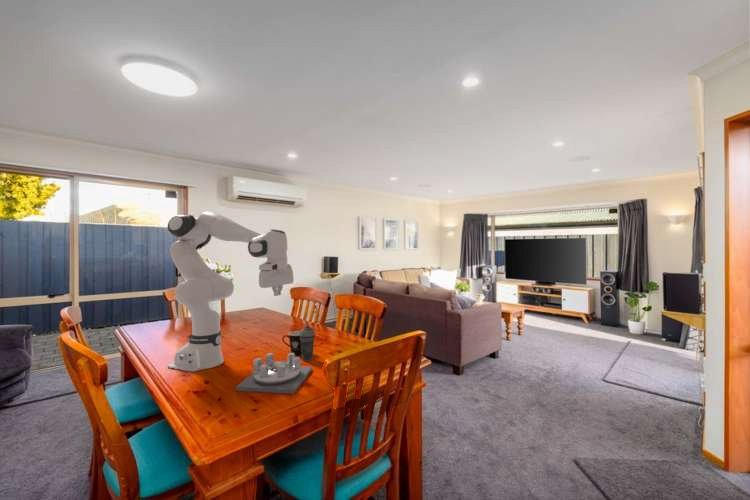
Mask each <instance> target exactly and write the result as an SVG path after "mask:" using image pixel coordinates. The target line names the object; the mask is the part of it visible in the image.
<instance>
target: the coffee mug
mask: <svg viewBox="0 0 750 500" xmlns="http://www.w3.org/2000/svg"><path fill="white" fill-rule="evenodd" d="M300 332H301V330H297V331H296V330H295V331H291V332H289V333H288V335H287V334H286V335H283V336H282V339H281V340H282V342H283V344H284V345H286V346H287V347H289V348H290V353H294V354H295V356H302V350H301V341H300V337H299V335H300ZM285 337H287V338H288V339H289V344H288V343H287V342H286V341H285V339H284V338H285Z"/></svg>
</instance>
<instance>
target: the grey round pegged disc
mask: <svg viewBox="0 0 750 500" xmlns="http://www.w3.org/2000/svg"><path fill="white" fill-rule="evenodd" d="M286 358H287V361H285V360H280V361H279V360H278V361H275V354H274V353H271V352H269V353H266V354H265V361H264V364H263V358H261V357H257V358H254V359H253V361H252V362H253V364H252V365H253V370H252V373H253V381H254V382H256V383H257V384H261V385H280V384H284V383H288V382H291V381H293V380H295V379H296V378H298V377H299V375H300V368H301V363H302V362H301V361H302V359H301V358H300V357H299V356H296V355H295V354H294V353H291V352H290V353H287V357H286Z"/></svg>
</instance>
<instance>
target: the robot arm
mask: <svg viewBox="0 0 750 500" xmlns="http://www.w3.org/2000/svg"><path fill="white" fill-rule="evenodd" d="M167 230H168V231H169V232H170V234H171V235H173V236H174V237H176V238H178V239H177V240H176V241H174V242H173V243H171V245H170V247H169V254H170V258H171V259H172V263H174V265H175V268H176V269H177V271H178V272H179V274H180V276H181V277H182V278H183V279H184V280H185V281H182V282H179V283H178V284H177V285H176V287H175V289H174V298H175V299H176V301H177V302H178V303H179V304H180V305H182V306H184V307H185V308H186V309H187V311H188V312H189V314H190V318H191V329H192V333H190V334H189V335H187V336H186V337H187V338H186V340H188V341H187V342H186V343H185V345H183V346H182V347H180V348H179V349H178V350H177V351H176V352H175V355H174V360H172V361H170V362H169V363H168V366H167V368H168V367H169V368H168V369H172V368H174V370H179V369H180V370H179V371H187V372H197V371H200V370H205V369H211V368H215V367H217V366H220V365H221V364H223V363H224V357H223V353H222V352H223V351H222V348H221V344H222V340H221V339H222V334H221V333H222V332H221V327H220V326H221V325H220V324H221V323H220V322H221V317H220V314H219V313H218V312H217V311H215V310H213V309H211V308H210V306H209V305H210V304H209V303H211V302H217V301H218V302H219V301H222V300H225V299H227V298H230V297H231V296H232V294H233V293H234V289H235V287H234V283H233V281H232V279H230V278H228V277H226V276H223V275H221V274H219V273H217V272H216V271H215V270H213V269H212V268H210V267H209V266H208V265H207V264H206V262H205V261H204V260H203V257H202V256H201V254H200V253H199V251H198V250H200V249H202V248H204V247H206V245H208V244H209V242H211V239H212V237H213V238H215V239H218V240H221V241H223V242H225V241H226V242H239V243H240V242H242V243H247V251H248V253H249V254H250V256H251V257H253V258H256V259H257V258H258V259H259V258H265V259H266V261H265V262H262V264H259V266H258V269H259V272H258V286H259V287H260V288H261V289H262V288H263V289H267V288H271V289H272V292H273V297H277V296H282V290H283V288H284V286H285V285H289V284H290V285H291V284H293V283H294V279H295V278H294V270H293V267H292V266H291V264H290V263H288V256H287V251H288V238H287V234H286V232H285V231H284V230H279V229H273V228H272V229H269V230H267V231H266V232H265V233H264V234H260V233H259V232H255V231H253V230H251V229H249V228H247V227H245V226H243V225H241V224H239V223H237V222H235V221H234V220H232V219H230V218H228V217H227V216H224V215H222V214H219V213H216V212H212V211H205V212H202V213H201V214H200V215H199V216H198V217H195V216H194V215H191V214H188V215H185V214H178V215H175V216H172V217H171V218H170V220H169V221H168V224H167Z"/></svg>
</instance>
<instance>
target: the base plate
mask: <svg viewBox="0 0 750 500" xmlns="http://www.w3.org/2000/svg"><path fill="white" fill-rule="evenodd" d="M312 370H313V367H312V366H304V365H303V366H301V368H300V375H299V377H298V378H296V379H295V380H293V381H291V382H288V383H284V384H280V385H261V384H257V383H256V382H254V381H253V372H252V373H251V374H250V375H248V376H247V377H246V378H244V380H242V381H241V382H240V383H239V384H238V385H236V387H235V391H237V392H238V391H239V392H251V393H253V392H254V393H271V394H274V393H275V394H287V395H288V394H290V395H291V394H293V395H294V394H295V392H297V391H298V389H299V388H300V386H301V385H302V384H303V383H304V381H306V379H307V377H308V376H309V375H310V374H311V372H312Z"/></svg>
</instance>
